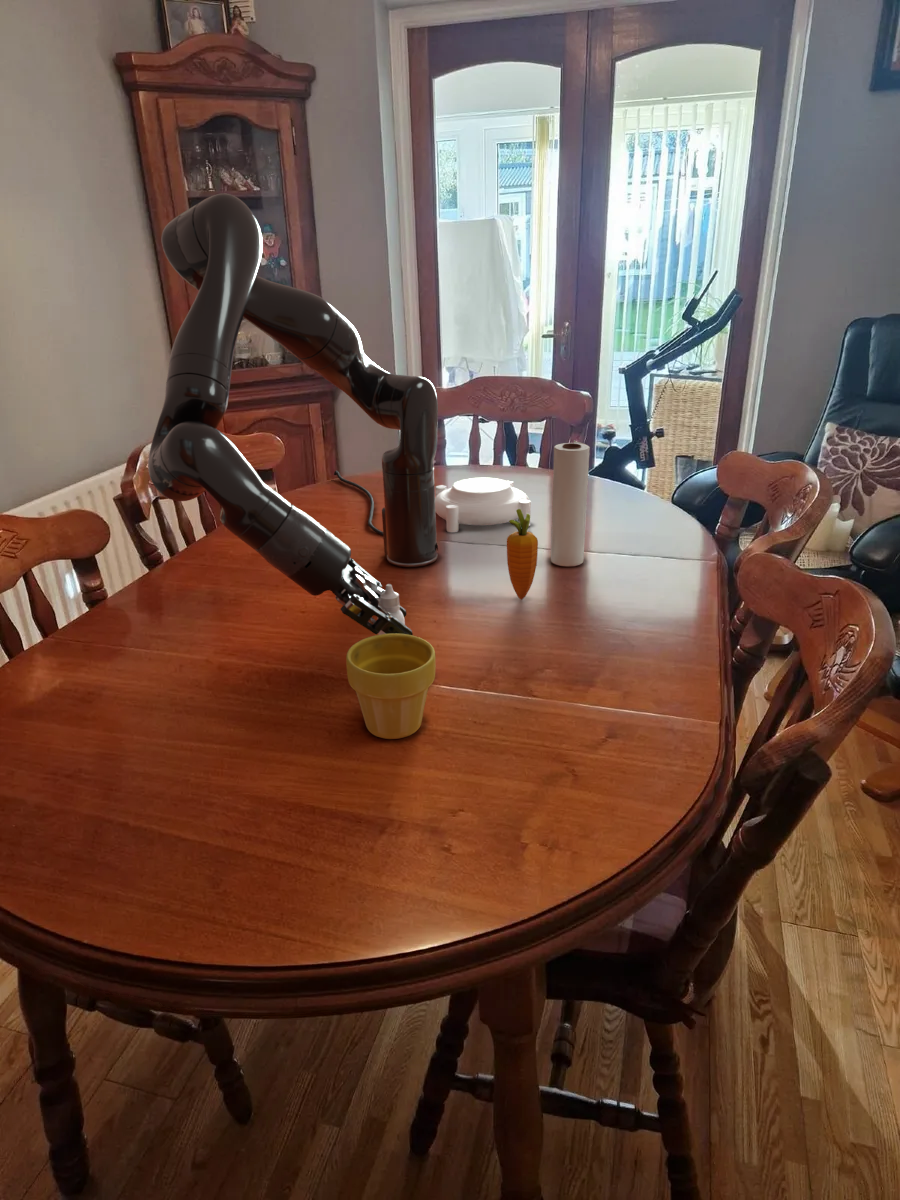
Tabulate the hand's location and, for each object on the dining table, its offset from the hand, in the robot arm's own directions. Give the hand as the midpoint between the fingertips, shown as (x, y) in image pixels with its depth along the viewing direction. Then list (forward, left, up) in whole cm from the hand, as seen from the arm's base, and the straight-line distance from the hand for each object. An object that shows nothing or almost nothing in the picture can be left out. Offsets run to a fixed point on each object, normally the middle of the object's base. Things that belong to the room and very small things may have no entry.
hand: (404, 628), depth 98 cm
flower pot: (+8, -9, -7) cm, 14 cm away
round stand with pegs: (-40, +56, -7) cm, 70 cm away
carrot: (-5, +29, -7) cm, 31 cm away
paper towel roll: (-10, +48, -7) cm, 50 cm away
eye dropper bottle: (-1, -1, -6) cm, 6 cm away
